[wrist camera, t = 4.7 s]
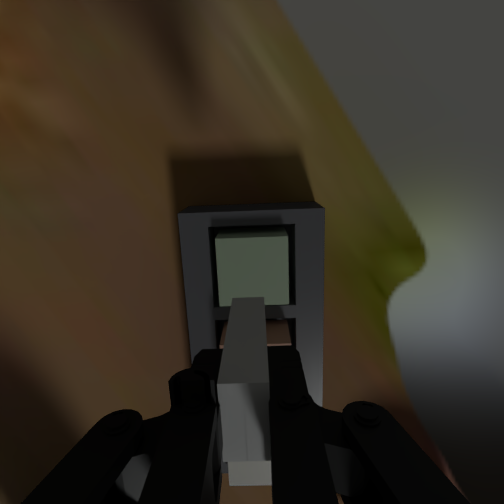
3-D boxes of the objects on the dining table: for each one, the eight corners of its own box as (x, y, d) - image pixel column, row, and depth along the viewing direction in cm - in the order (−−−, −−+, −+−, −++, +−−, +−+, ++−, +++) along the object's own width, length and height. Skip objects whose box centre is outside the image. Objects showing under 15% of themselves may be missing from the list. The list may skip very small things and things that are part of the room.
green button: (224, 288, 27) (219, 306, 24) (220, 228, 26) (215, 238, 23) (285, 286, 27) (288, 304, 24) (284, 226, 26) (288, 236, 23)
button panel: (208, 437, 33) (202, 473, 29) (188, 206, 27) (177, 213, 24) (313, 434, 33) (321, 471, 29) (315, 201, 27) (324, 207, 23)
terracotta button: (228, 376, 28) (223, 406, 24) (224, 321, 27) (219, 345, 23) (287, 374, 28) (292, 405, 24) (286, 319, 27) (291, 343, 23)
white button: (232, 447, 30) (229, 485, 26) (229, 399, 28) (225, 432, 25) (289, 446, 29) (293, 484, 26) (288, 398, 28) (292, 431, 25)
